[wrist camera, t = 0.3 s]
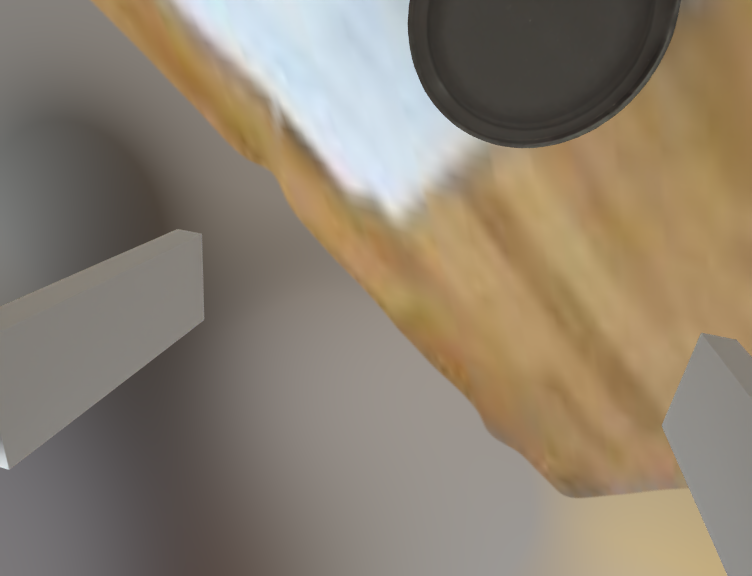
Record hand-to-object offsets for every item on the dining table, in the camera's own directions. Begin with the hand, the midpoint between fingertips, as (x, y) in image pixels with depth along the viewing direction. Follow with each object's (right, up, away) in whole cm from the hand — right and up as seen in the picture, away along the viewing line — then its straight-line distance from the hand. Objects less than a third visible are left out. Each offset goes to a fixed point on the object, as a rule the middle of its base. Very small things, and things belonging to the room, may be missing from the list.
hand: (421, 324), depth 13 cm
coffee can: (+9, +20, +17) cm, 28 cm away
